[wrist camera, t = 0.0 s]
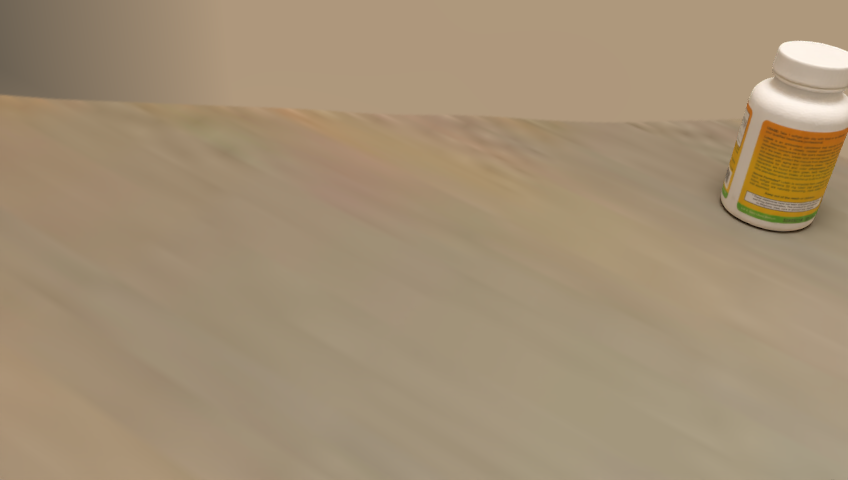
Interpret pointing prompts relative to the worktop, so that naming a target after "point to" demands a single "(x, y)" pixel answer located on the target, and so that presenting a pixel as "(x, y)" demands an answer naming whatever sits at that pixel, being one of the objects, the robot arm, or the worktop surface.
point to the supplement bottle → (789, 138)
